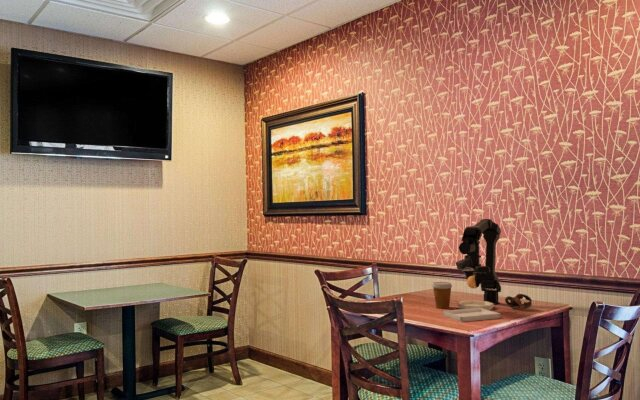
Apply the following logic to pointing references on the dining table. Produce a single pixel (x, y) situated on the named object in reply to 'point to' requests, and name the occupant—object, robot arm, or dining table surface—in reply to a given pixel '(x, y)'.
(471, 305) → the bowl
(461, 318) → the tray
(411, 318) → the dining table surface
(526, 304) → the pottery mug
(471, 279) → the ball
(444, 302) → the disposable coffee cup
